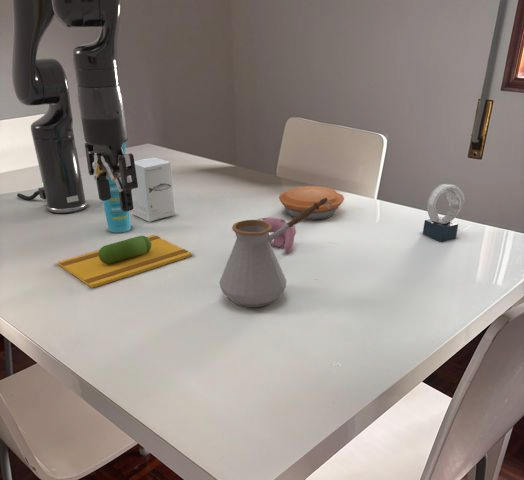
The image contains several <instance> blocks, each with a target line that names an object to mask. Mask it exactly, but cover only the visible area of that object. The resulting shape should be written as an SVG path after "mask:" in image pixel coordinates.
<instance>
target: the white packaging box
mask: <svg viewBox="0 0 524 480" xmlns="http://www.w3.org/2000/svg"><path fill="white" fill-rule="evenodd" d="M134 163H135V169H136V176H137V183H138V188H135V189H132V190H131V192H132V200H133V215H134V216H136V217H138V218H140V219H142V220H145V221H146V222H149V223H151V222H153V221H157V220H161V219H164V218H165V219H166V218H169V217H173V216H175V215H176V210H175V198H174V188H173V187H174V185H173V176H172V175H173V174H172V164H171V163H172V162H171V161H167V160H166V159H165V160H164V159H161V158H158V157H155V156H154V157H148V158H143V159H138V160H134ZM129 177H130V180H131V175H130V176H129ZM131 182H132V180H131Z"/></svg>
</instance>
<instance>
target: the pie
mask: <svg viewBox="0 0 524 480" xmlns="http://www.w3.org/2000/svg"><path fill="white" fill-rule="evenodd" d="M324 198H327V199H328V200H329V201H330V203H331V205H332V208H331V205H330V203H329V202H328V201H326V203H325V204H326V205H327V206H328V207H329V208H330V209H329V208H327V207H326V206H325V205H324V204H323V205H321V206H320V207H319V209H318V210H317V209H315V210H314V211H313V212H312V213H311V214H310V215H309V216H308V217H306V218H305V219H304V220H308V221H309V220H311V221H316V220H323V219H328V218H331V217H332V216H333V215H334V214H335V213H336V211H337V210H338V209H339V207H340V206H341V205H342V204H343V202H344V201H345V196H344V194H341V193H339V192H338V191H336V190H334V189H332V188H328V187H324V186H316V185H315V186H314V185H311V186H310V185H307V186H306V185H305V186H297V187H293V188H290V189H288V190H286V191H284V192H282V193H280V194H279V196H278V199H279V201H280V203H281V204H282V205H283V207H284V208H285V210H286V212H287V214H289V216H291V217H293V218H295V217H296V216H297V215H299V214H300V213H301V212H302V211H304V210H306V209H308V208H310V207H312V206H313V205H314V203H318V202H320V200H322V199H324Z"/></svg>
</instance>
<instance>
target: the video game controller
mask: <svg viewBox="0 0 524 480" xmlns="http://www.w3.org/2000/svg"><path fill="white" fill-rule="evenodd" d="M256 220H261V221H266V222H268V223H270V224H271V226H272V228H271V230H270V231H269V233H274V232H276V231H277V230H279V229H280V228H282V227H283V226H285V225H286V224H287V223H288V222H289V221H288V220H285V219H283V218H279V217H271V216H270V217H263V218H262V217H261V218H257V219H256ZM269 233H268V236H270V235H271V234H269ZM296 234H297V229H296V226H295V225H294V226H292V227H290V228H288V229H287V230H286V231H284V232H283V233H281V234H280V235H279V236H277V237H276V238H275V239H273V244H274V245H275V246H276V247H279V248H282V247H284V252H285V254H289V253H290V252H291V250H292V248H293V246H294V242H295V237H296Z"/></svg>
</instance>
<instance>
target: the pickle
mask: <svg viewBox="0 0 524 480" xmlns="http://www.w3.org/2000/svg"><path fill="white" fill-rule="evenodd" d="M150 249H151V241H150V239H149V238H148V237H147V236H146V235H137V236H135V237H131V238H127V239H124V240H120V241H117V242H116V241H115V242H113V243H110V244H109V243H108V244H106V245H103V246H102V247H100V249H98V250H99V259H100V260H101V261H102V262H103V263H105V264H112V263H115V262H119V261H122V260H125V259H129V258H132V257H135V256H138V255H142V254H145V253H147V252H149V251H150Z"/></svg>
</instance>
